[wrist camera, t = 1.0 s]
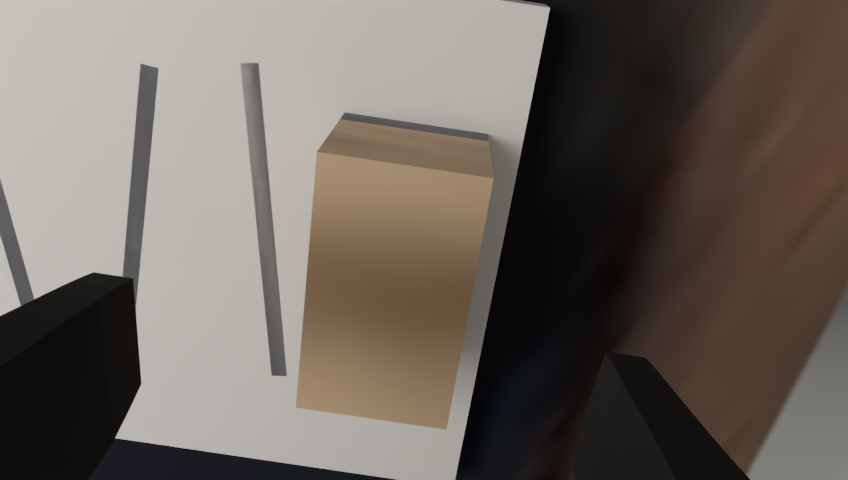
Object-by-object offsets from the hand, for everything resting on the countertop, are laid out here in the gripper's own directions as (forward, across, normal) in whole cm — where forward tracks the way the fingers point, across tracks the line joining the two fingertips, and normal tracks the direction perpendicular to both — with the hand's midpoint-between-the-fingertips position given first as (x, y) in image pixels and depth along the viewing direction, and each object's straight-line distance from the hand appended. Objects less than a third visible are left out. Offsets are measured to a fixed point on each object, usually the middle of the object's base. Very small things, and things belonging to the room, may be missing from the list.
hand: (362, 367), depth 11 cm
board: (+11, +9, +4) cm, 15 cm away
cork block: (+10, 0, +3) cm, 10 cm away
